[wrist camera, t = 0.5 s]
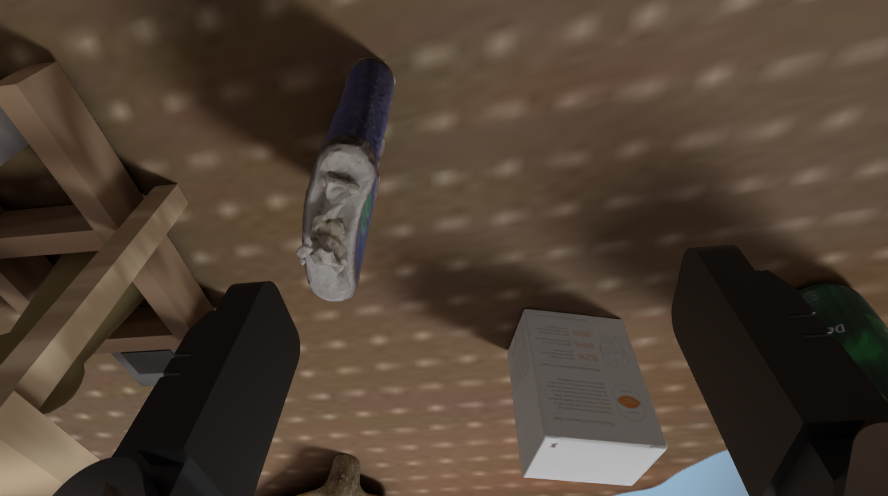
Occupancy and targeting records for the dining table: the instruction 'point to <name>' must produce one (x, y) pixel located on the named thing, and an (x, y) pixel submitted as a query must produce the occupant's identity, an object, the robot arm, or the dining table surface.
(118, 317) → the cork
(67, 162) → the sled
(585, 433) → the small box
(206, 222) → the dining table surface
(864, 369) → the coffee jar
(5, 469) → the wooden stool
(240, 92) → the dining table surface
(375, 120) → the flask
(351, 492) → the decorative stone
